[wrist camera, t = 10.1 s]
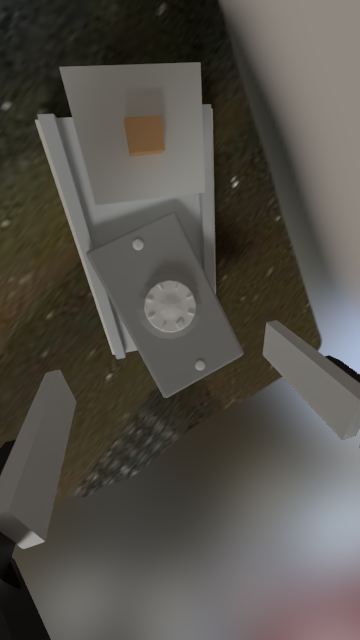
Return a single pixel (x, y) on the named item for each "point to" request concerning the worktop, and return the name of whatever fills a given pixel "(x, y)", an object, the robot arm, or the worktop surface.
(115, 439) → the worktop surface
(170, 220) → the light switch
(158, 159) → the rail board
